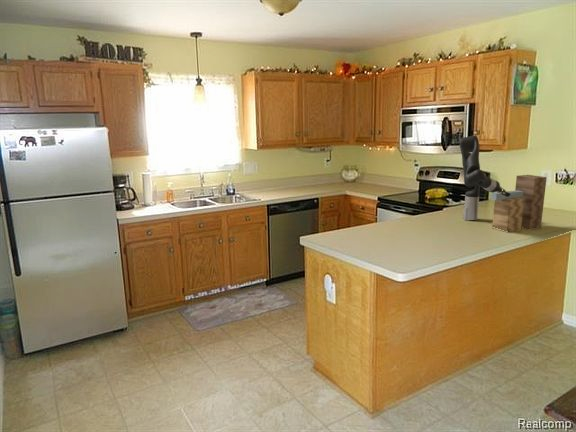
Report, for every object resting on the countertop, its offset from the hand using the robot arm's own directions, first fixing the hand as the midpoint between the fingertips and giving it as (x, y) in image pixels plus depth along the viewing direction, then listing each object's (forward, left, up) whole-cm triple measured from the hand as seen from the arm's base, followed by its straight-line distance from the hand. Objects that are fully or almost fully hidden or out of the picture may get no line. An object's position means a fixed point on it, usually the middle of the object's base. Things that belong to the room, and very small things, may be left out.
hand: (504, 191), depth 264 cm
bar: (+5, +8, -6) cm, 11 cm away
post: (+22, +16, -27) cm, 38 cm away
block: (+7, +9, -27) cm, 29 cm away
